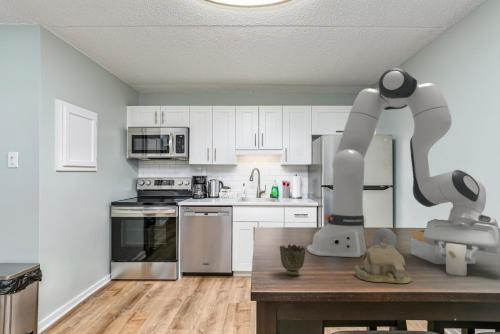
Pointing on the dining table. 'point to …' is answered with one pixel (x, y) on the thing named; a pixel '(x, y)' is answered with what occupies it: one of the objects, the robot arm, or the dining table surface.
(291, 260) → the cup
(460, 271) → the spout can
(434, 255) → the white orange open box
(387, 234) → the donut
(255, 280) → the dining table surface
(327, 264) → the dining table surface
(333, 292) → the dining table surface
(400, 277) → the ceramic model
